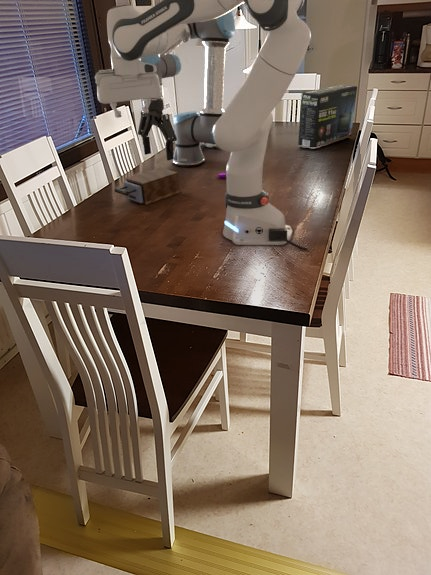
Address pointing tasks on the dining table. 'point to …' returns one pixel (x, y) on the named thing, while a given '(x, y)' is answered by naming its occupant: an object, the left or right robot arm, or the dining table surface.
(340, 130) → the router box
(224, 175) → the handgun
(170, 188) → the cabinet
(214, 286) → the dining table surface
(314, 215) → the dining table surface
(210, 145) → the fossil
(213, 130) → the right robot arm
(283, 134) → the dining table surface
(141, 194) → the drawer
